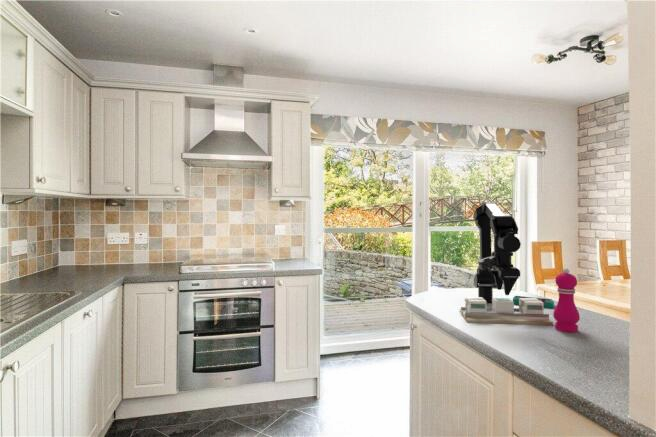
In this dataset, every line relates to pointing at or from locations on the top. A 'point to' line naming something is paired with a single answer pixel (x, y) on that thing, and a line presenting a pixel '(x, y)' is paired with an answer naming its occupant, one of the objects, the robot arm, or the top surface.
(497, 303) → the block
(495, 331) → the top surface
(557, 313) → the pepper mill
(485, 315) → the rail panel
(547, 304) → the digital multimeter
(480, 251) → the robot arm
